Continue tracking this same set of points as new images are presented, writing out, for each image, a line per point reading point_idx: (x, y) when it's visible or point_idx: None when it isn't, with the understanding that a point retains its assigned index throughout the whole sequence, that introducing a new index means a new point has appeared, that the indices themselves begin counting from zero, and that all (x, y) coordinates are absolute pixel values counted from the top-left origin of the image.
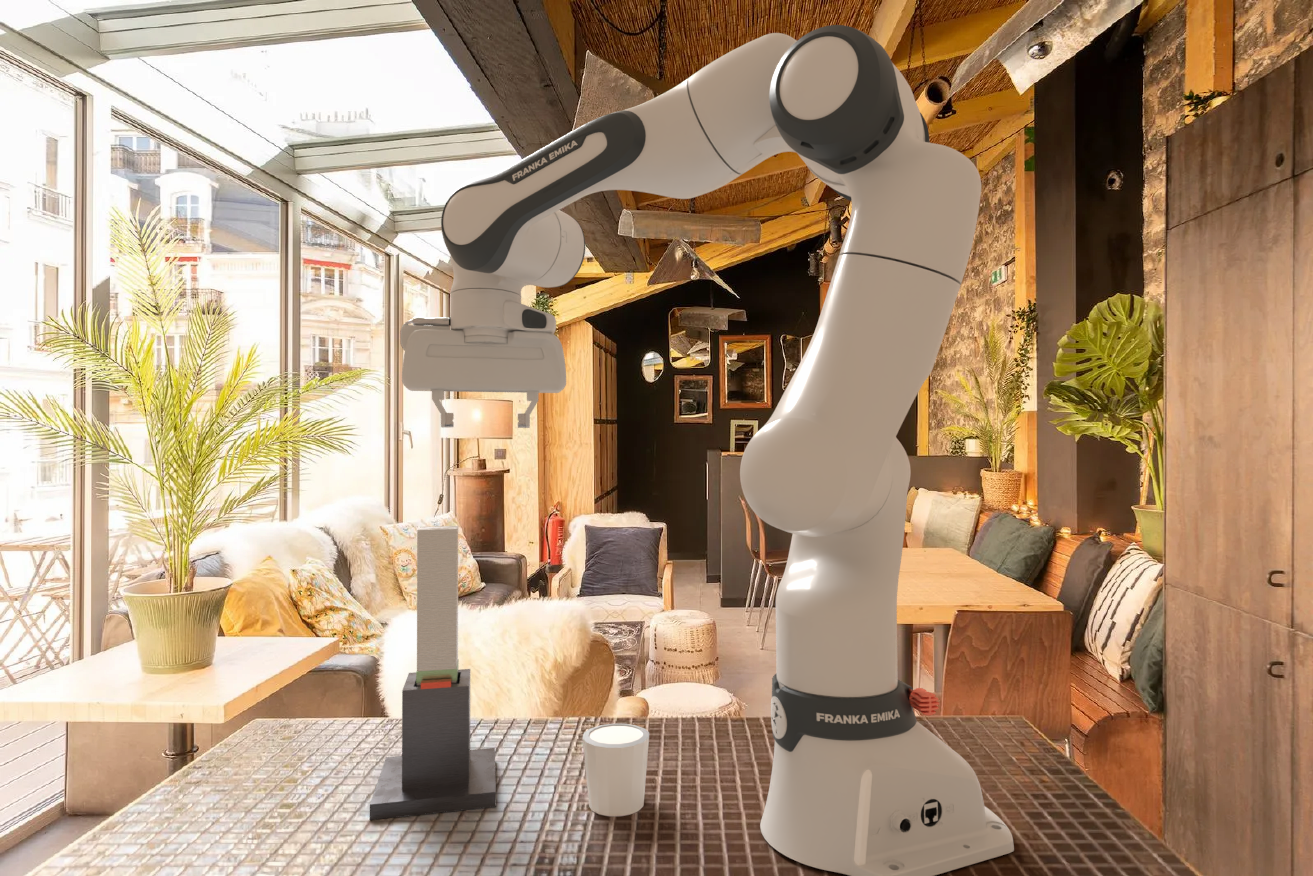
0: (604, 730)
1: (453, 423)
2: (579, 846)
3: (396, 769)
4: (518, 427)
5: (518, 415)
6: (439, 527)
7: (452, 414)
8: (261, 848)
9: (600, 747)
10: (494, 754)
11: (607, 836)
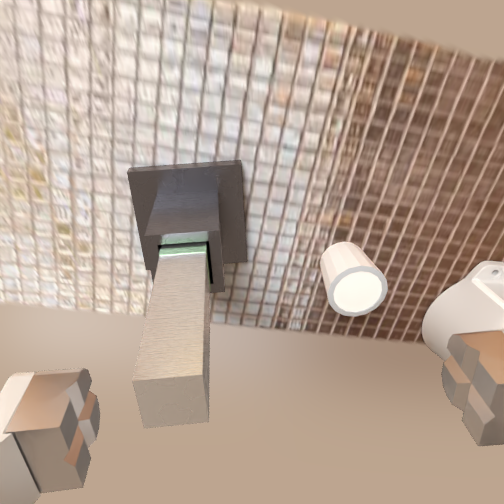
0: (350, 280)
1: (84, 392)
2: (304, 313)
3: (147, 204)
4: (445, 366)
5: (473, 436)
6: (172, 396)
7: (81, 477)
8: (81, 291)
9: (338, 312)
10: (241, 182)
11: (324, 304)
